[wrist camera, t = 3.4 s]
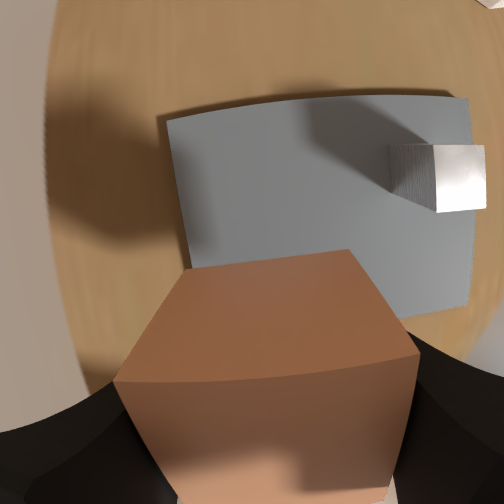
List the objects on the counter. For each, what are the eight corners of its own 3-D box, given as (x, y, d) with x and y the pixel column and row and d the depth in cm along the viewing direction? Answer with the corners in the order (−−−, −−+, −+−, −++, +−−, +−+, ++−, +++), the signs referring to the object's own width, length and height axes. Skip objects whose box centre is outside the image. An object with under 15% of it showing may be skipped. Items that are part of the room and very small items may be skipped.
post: (432, 190, 16) (485, 207, 11) (391, 193, 16) (436, 212, 11) (428, 143, 15) (483, 145, 10) (387, 144, 15) (432, 144, 10)
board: (460, 298, 19) (467, 304, 18) (212, 333, 20) (209, 342, 19) (458, 100, 15) (467, 98, 14) (171, 122, 16) (166, 120, 16)
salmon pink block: (350, 378, 11) (383, 500, 6) (217, 391, 12) (191, 514, 7) (348, 248, 10) (420, 353, 4) (185, 269, 10) (112, 380, 5)
